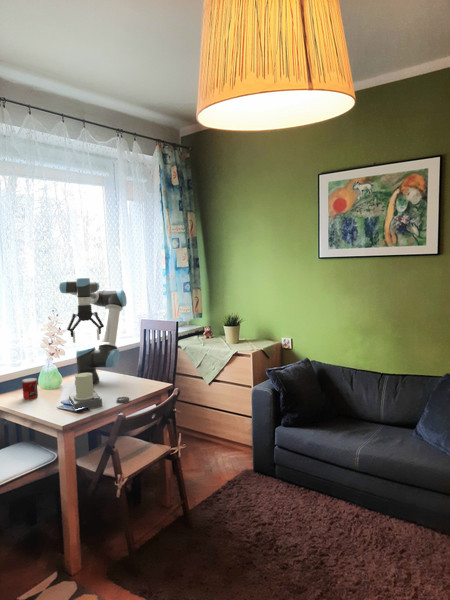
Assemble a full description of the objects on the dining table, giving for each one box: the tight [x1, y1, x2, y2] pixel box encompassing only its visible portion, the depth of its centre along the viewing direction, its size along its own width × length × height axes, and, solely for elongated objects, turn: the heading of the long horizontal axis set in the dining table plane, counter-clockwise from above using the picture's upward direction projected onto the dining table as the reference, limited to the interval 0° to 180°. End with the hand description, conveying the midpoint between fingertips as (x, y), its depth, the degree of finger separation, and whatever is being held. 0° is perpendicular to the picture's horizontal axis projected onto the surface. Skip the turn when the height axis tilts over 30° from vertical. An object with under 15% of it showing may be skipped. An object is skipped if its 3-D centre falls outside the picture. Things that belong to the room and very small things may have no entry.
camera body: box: [68, 389, 103, 410], centre depth 236 cm, size 18×14×5 cm
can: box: [74, 373, 94, 398], centre depth 235 cm, size 9×9×12 cm
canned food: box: [21, 377, 39, 401], centre depth 250 cm, size 8×8×11 cm
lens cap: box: [116, 396, 130, 404], centre depth 240 cm, size 7×7×2 cm
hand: (86, 341), depth 247 cm, fingers open, 13 cm apart
